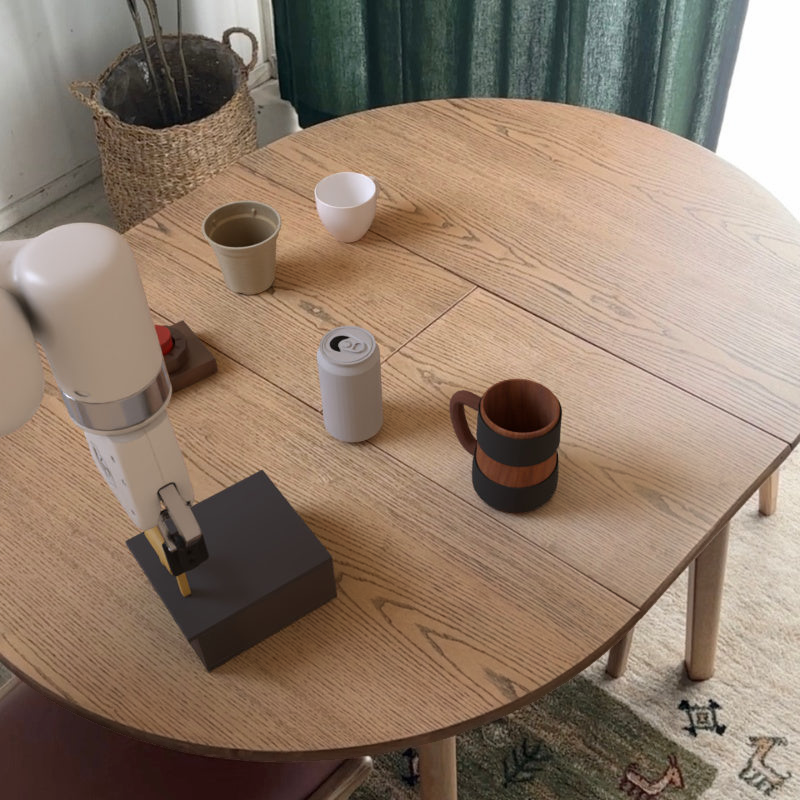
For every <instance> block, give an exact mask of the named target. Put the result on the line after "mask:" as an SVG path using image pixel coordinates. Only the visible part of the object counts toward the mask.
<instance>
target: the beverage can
mask: <svg viewBox="0 0 800 800" xmlns="http://www.w3.org/2000/svg"><path fill="white" fill-rule="evenodd" d="M316 362H317V372H318V380H319V389H320V391H319V392H320V397H321V398H320V400H321V407H322V416H323V424H324V428H325V429H326V431H327V433H328V434H329V435H330V436H331V437H333V438H334V439H336V440H338V441H341V442H345V443H360V442H363V441H367V440H369V439H371V438H372V437H374V436H376V434H378V433H379V431H381V429H382V426H383V424H384V405H383V403H384V402H383V384H382V366H381V365H382V364H381V350H380V347H379V345H378V342H377V341H376V339H375V337H374V335H373V333H372V332H370V331H369V330H367V329H365V328H363V327H360V326H357V325H342V326H338V327H335V328H332V329H330V330H328V331H327V332H326V333H325V334H324V335H323V336H322V337H321V339H320V342H319V345H318V348H317V351H316Z"/></svg>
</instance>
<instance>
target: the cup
mask: <svg viewBox="0 0 800 800" xmlns="http://www.w3.org/2000/svg"><path fill="white" fill-rule="evenodd" d="M380 190H381V186H380V181H379V178H377V177H376V176H373V175H369V176H367V175H365V174H363V173H359V172H353V171H342V172H336V173H332V174H329V175H327V176H325V177H324V178H322V179H321V180H319V181H318V183H317V184H316V185H315V188H314V201H315V206H316V207H315V208H316V212H317V214H318V218H319V220H320V222H321V224H322V226H323V227H324V229H325V230H326V232H328V233H329V234H330V235H331V236H332V238H334V239H336V240H337V241H339V242H341V243H355V242H357V241H359V240H361V239H362V238H363V237H364V236H365V235H366V233H368V231H369V230H370V227H371V226H372V225H373V222H374V219H375V216H376V212H377V206H378V205H377V203H378V201H377V200H378V199H379V195H380Z"/></svg>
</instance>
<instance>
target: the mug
mask: <svg viewBox="0 0 800 800" xmlns="http://www.w3.org/2000/svg"><path fill="white" fill-rule="evenodd" d="M448 405H449V407H448V408H449V417H450V422H451V425H452V429H453V431H454V434H455V437H456V438H457V440H458V442H459V444H460V445H461V446H462V448H463V449H464V450H465V451H466V452H467V453H468V454H469V455H471V456H473V458H472V461H471V483H472V487H473V489H474V491H475V493H476V495H477V496H478V497H479V498H480V499H481V500H482V501H483V503H485V504H487V505H488V507H490V508H492V509H494V510H496V511H498V512H501V513H504V514H511V515H521V514H528V513H530V512H533V511H535V510H537V509H540V508H541V507H543V506H544V505H546V504H547V503H548V502H550V500H551V499H552V498H553V496H554V495H555V493H556V491H557V486H558V481H559V466H560V465H559V463H560V460H559V459H560V457H559V451H558V449H559V446H560V444H561V431H562V419H563V408H562V404H561V402H560V400H559V398H558V397H557V396H556V395H555V394H554V392H553V391H552V390H551V389H549V388H548V387H547V386H545V385H543V384H541V383H539V382H537V381H535V380H531V379H526V378H509V379H504V380H501V381H498V382H496V383H494V384H492V385H491V386H490V387H488V388H487V389H486V390H485V392H484V393H483V394H482V396H480V395H477V394H476V393H474V392H472V391H470V390H466V389H465V390H464V389H461V390H457V391H456V392H453V394H452V395H451V397H450V399H449V404H448ZM465 406H466V407H468V408H470V409H473V410H474V411H476V412H477V416H476V430H475V431H476V432H475V435H476V438H475V436H474V435H473V433H472V430H471V428H470V426H469V423H468V420H467V417H466V416H467V415H466V412H465Z"/></svg>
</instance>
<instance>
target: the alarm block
mask: <svg viewBox="0 0 800 800" xmlns="http://www.w3.org/2000/svg"><path fill="white" fill-rule="evenodd" d="M161 326H165V327H166V328H168V329H169V331H170V334H171V338H172V342H173V348H172V350H171V351H170V352H169V353H168V354H167V355H165V356H163V357H164V361H165V364H166V368H167V371H168V375H169V378H170V382H171V386H172V394H171V395H173V394H175V393H177V392H180V391H182V390H183V389H185V388H187V387H189V386H191V385H194V384H195V383H198V382H200V381H203V380H205V379H206V378H209V377H210V376H212V375H215V374H217V373H218V372H219V369H218V364H217V359H216V357H215V356H214V354H213V353H212V352H211V351H210V350H209V349H208V348H207V347H206V345H205V344H204V343H203V342H202V341H201V339H200V338H199V337H198V336H197V335H196V334H195V332H194V331H193V330H192V329H191V327H190V326H189V325H188V324H187V323H186V321H184V319H182V320H180V321H178V322H176V323H173V324H170V325H166V324H164V325H161Z"/></svg>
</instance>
